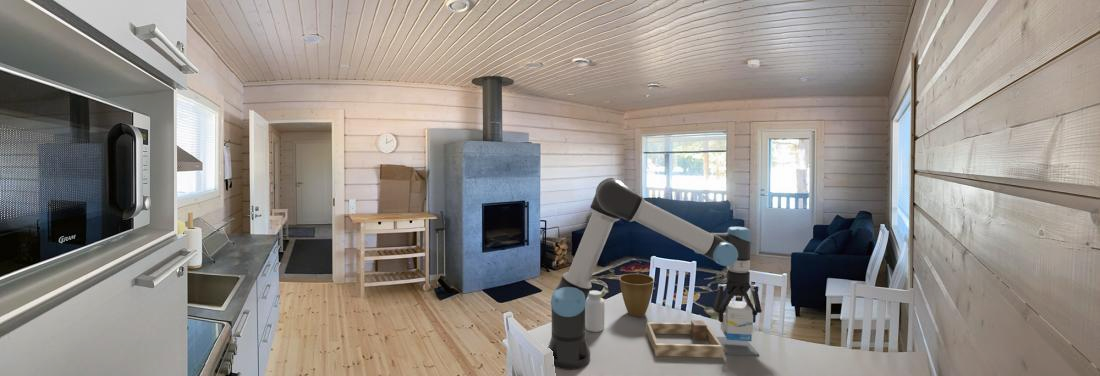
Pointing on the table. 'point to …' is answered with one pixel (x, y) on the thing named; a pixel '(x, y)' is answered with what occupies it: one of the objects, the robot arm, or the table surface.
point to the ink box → (738, 321)
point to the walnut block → (698, 330)
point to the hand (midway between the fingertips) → (736, 330)
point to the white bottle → (594, 312)
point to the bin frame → (682, 349)
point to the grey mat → (737, 347)
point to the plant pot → (636, 293)
